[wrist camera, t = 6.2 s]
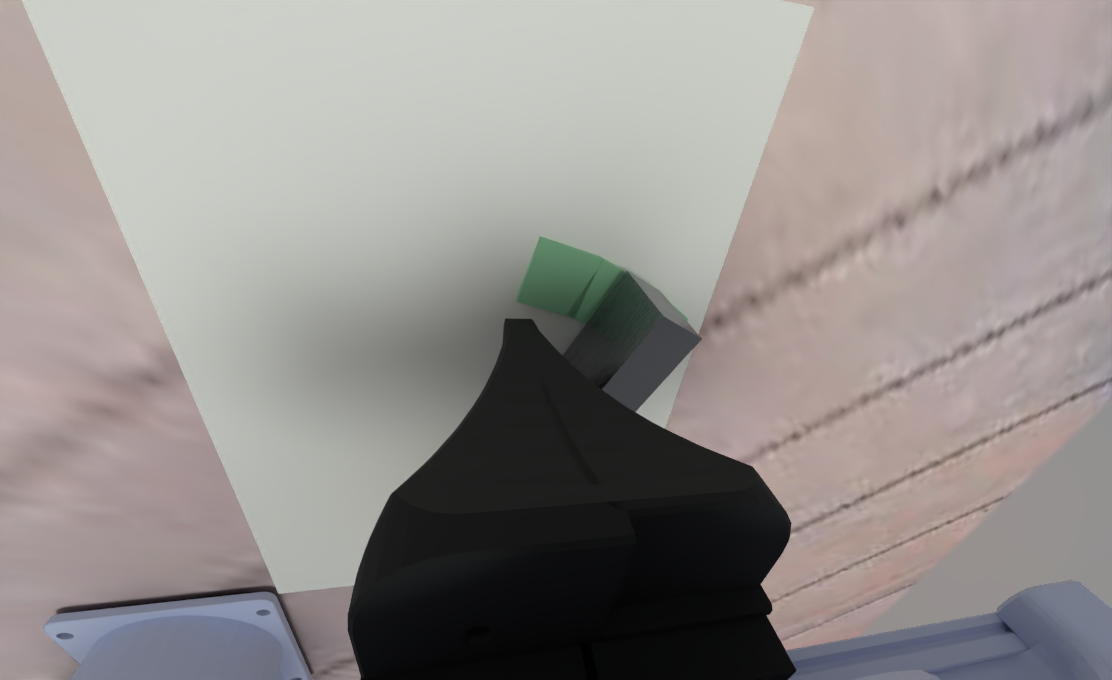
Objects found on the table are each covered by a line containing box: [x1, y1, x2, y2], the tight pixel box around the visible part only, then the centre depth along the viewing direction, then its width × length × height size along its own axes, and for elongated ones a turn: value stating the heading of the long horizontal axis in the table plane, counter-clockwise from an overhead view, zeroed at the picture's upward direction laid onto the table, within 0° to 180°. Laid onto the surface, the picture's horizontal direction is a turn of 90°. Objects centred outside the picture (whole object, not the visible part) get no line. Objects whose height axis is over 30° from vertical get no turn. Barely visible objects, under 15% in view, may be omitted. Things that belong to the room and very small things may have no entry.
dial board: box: [22, 0, 815, 594], centre depth 13 cm, size 20×14×2 cm
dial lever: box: [562, 271, 702, 412], centre depth 12 cm, size 12×4×3 cm, turn 146°
